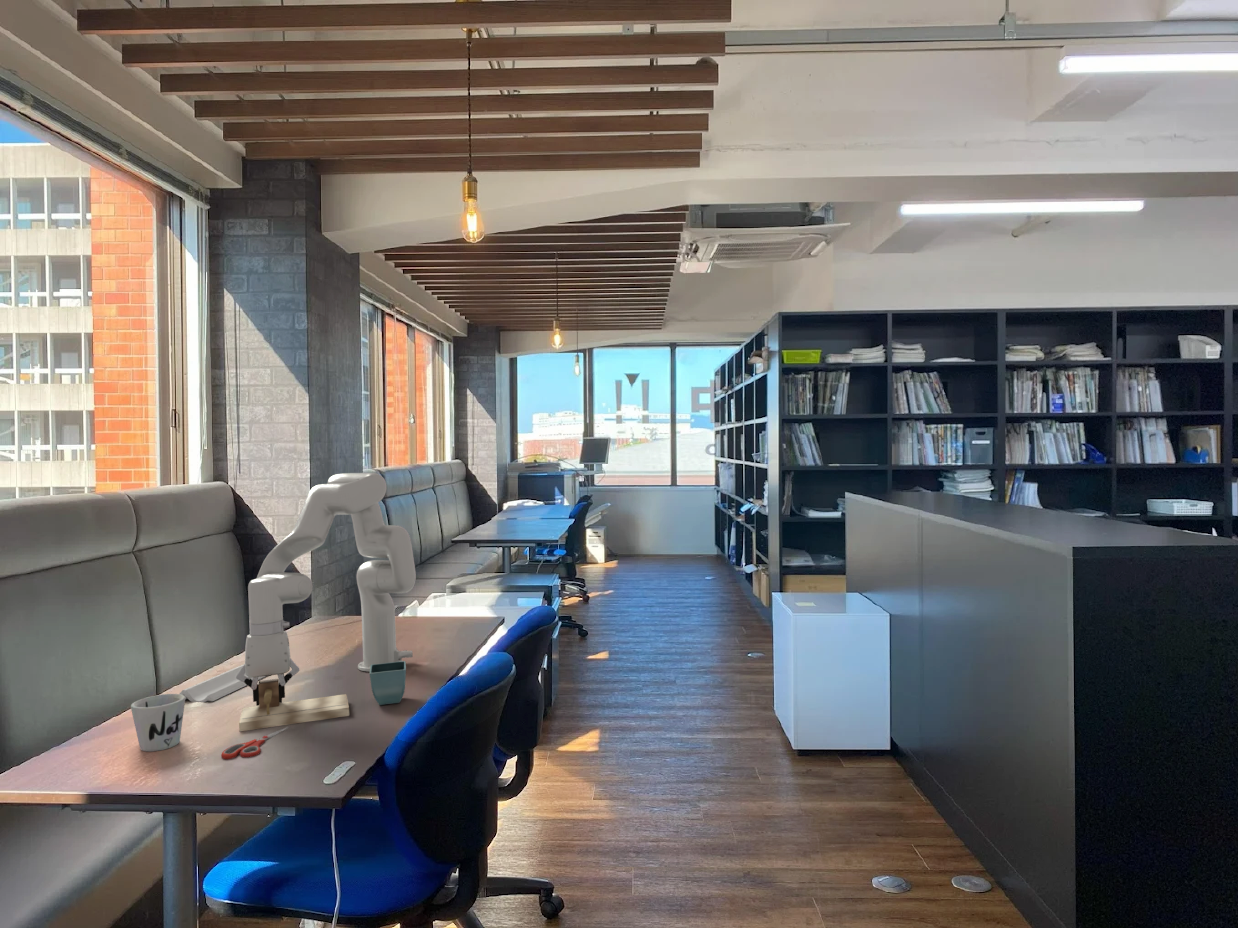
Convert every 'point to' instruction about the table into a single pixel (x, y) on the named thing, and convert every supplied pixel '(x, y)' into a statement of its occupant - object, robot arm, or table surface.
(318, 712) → the maple board
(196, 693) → the crown molding
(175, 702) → the mug
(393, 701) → the flower pot
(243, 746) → the scissors
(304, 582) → the robot arm
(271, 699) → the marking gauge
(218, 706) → the table surface
